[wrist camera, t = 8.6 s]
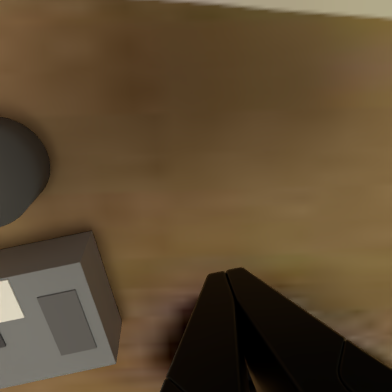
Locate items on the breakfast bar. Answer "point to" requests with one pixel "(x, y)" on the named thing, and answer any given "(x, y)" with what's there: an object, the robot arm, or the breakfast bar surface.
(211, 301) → the robot arm
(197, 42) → the breakfast bar surface
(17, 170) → the coil
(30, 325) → the grey flat block
